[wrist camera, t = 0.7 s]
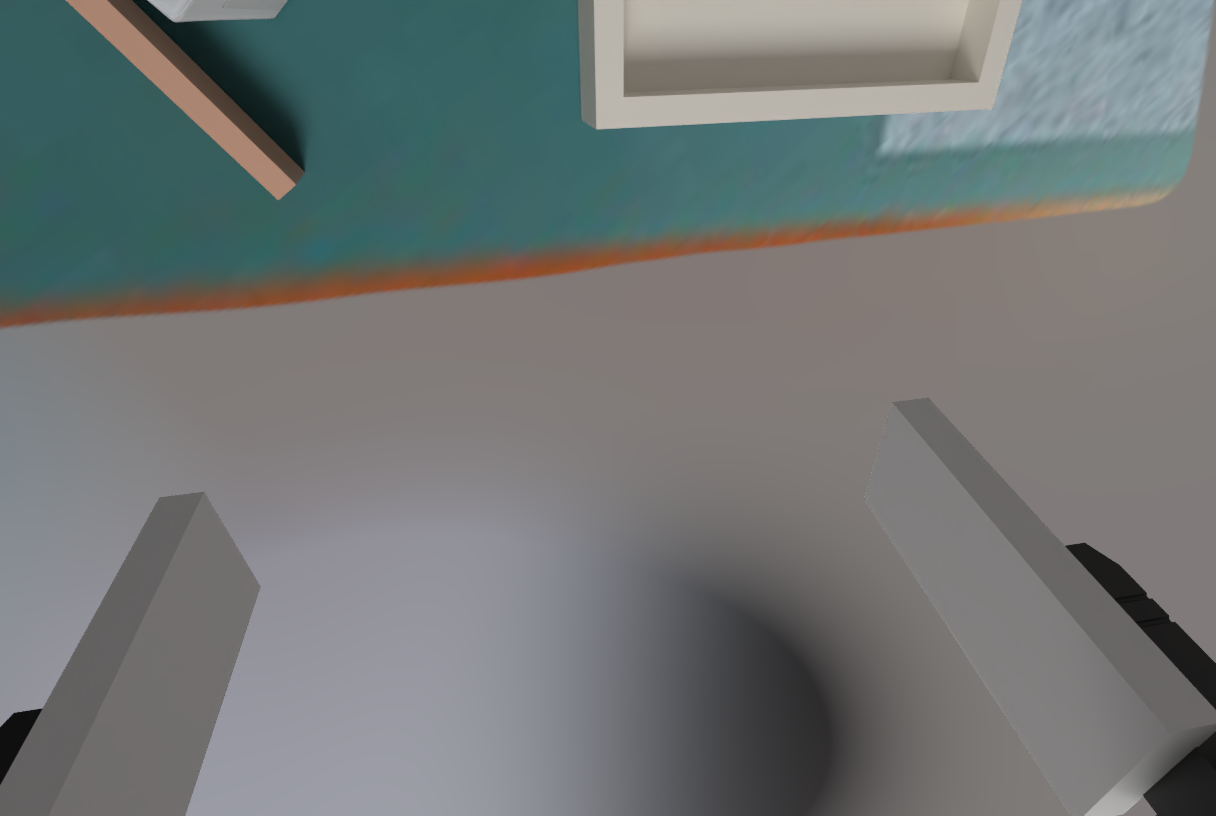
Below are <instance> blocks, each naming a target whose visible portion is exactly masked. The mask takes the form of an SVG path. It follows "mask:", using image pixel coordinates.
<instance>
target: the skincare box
mask: <svg viewBox="0 0 1216 816" xmlns="http://www.w3.org/2000/svg"><path fill="white" fill-rule="evenodd" d="M148 1H149V2H150V3H151V4H152V5H154V6H155V7H156V8H157V9H158V10H159V11H161V12H162V13H163V14H164V15H165V16H167V17H168V18H169V19H170V20H172V21H173V22H187V21H205V20H237V19H272V18H275V17H276V15H277V14H278V13H279V11H280V10H281V9H282V7H283V6H284V5H285V3H286V2H287V1H288V0H148Z"/></svg>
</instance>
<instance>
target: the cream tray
mask: <svg viewBox="0 0 1216 816" xmlns="http://www.w3.org/2000/svg"><path fill="white" fill-rule="evenodd" d="M1021 4H1022V0H578V22H579V55H580V88H581V120H582V121H584V122H586V123H587V124H589V125H590V126H592V127H593V128H595V129H613V128H632V127H652V126H671V125H690V124H710V123H729V122H749V121H768V120H787V119H807V118H826V117H845V116H865V115H884V114H903V113H923V112H942V111H962V110H981V109H993V106H994V102H995V99H996V95H997V91H998V88H999V84H1000V80H1001V77H1002V73H1003V69H1004V66H1005V62H1006V58H1007V55H1008V51H1009V47H1010V44H1011V40H1012V36H1013V33H1014V29H1015V26H1016V22H1017V18H1018V15H1019V11H1020V7H1021Z"/></svg>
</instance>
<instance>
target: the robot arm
mask: <svg viewBox="0 0 1216 816" xmlns="http://www.w3.org/2000/svg"><path fill="white" fill-rule="evenodd" d="M864 500H865V501H866V503H867V504H868V506H869V508H870V509H871V511H872V512H873V514H874V515H875V517H876V518H877V520H878V521H879V523H880V524H881V526H882V528H883V529H884V530H885V532H886V534H887V535H888V537H889V538H890V540H891V541H892V543H893V544H894V546H895V548H896V549H897V551H898V552H899V554H900V555H901V557H902V558H903V560H904V561H905V563H906V564H907V566H908V567H909V569H910V571H911V572H912V573H913V575H914V577H915V578H916V580H917V581H918V583H919V584H920V586H921V587H922V589H923V590H924V592H925V593H926V595H927V597H928V598H929V600H930V601H931V603H932V604H933V606H934V607H935V609H936V610H937V612H938V613H939V615H940V617H941V618H942V619H943V621H944V623H945V624H946V626H947V627H948V629H949V630H950V632H951V633H952V635H953V636H954V638H955V639H956V641H957V643H958V644H959V645H960V647H961V649H962V650H963V652H964V653H965V655H966V656H967V658H968V660H969V661H970V663H971V664H972V666H973V667H974V669H975V670H976V672H977V673H978V675H979V676H980V678H981V679H982V681H983V682H984V684H985V685H986V687H987V689H988V690H989V692H990V693H991V695H992V696H993V698H994V699H995V701H996V702H997V704H998V705H999V707H1000V709H1001V710H1002V711H1003V713H1004V715H1005V716H1006V718H1007V719H1008V721H1009V722H1010V724H1011V725H1012V727H1013V729H1014V730H1015V732H1016V733H1017V735H1018V736H1019V738H1020V739H1021V741H1022V742H1023V744H1024V745H1025V747H1026V748H1027V750H1028V752H1029V753H1030V755H1031V756H1032V758H1033V759H1034V761H1035V762H1036V764H1037V765H1038V767H1039V768H1040V770H1041V772H1042V773H1043V774H1044V776H1045V777H1046V779H1047V781H1048V782H1049V784H1050V785H1051V787H1052V788H1053V790H1054V791H1055V793H1056V794H1057V796H1058V797H1059V799H1060V801H1061V802H1062V804H1063V805H1064V807H1065V808H1066V810H1067V811H1068V813H1069V814H1070V816H1116V815H1122V814H1124V813H1125V812H1126V811H1127V810H1129V809H1130V808H1131V807H1132V806H1133V805H1134V804H1135V803H1136V802H1137V801H1139V800H1140V799H1141V798H1142V797H1143V796H1144V797H1145V799H1146V800H1147V801H1148V803H1149V804H1150V805H1151V807H1152V808H1153V809H1154V811H1155V812H1156V813H1157V815H1156V816H1216V663H1215V662H1214V661H1213V660H1212V659H1211V658H1210V657H1209V656H1208V655H1207V654H1206V653H1205V652H1204V651H1203V650H1202V649H1201V648H1200V647H1199V646H1198V645H1197V644H1196V643H1195V642H1194V641H1193V640H1192V639H1191V638H1190V637H1189V636H1188V635H1187V634H1186V633H1185V632H1184V631H1183V630H1182V629H1181V627H1180V626H1179V625H1178V624H1177V623H1175V622H1171V621H1170V620H1169V615H1168V614H1167V613H1166V612H1165V611H1164V610H1163V609H1162V608H1161V607H1160V606H1159V605H1158V604H1157V603H1156V602H1155V601H1154V600H1153V599H1149V598H1148V597H1147V595H1146V594H1147V593H1146V592H1145V591H1144V590H1143V589H1142V588H1141V587H1140V586H1139V584H1137V583H1136V581H1135V580H1134V579H1133V578H1131V576H1130V575H1129V574H1128V573H1127V572H1126V571H1125V570H1124V569H1123V568H1122V567H1121V566H1120V565H1119V564H1117V563H1115V562H1114V561H1112V560H1111V559H1109V558H1107V557H1106V556H1105V555H1103V554H1101V553H1100V552H1098V551H1097V550H1095V549H1093V548H1092V547H1090V546H1089V545H1087V544H1086V543H1080V544H1074V545H1067V546H1064V545H1063V543H1062V542H1061V541H1059V539H1058V538H1057V537H1056V536H1055V535H1054V534H1053V533H1052V532H1051V530H1049V528H1048V527H1046V525H1045V524H1044V523H1043V522H1042V521H1041V520H1040V519H1039V517H1038V516H1037V515H1036V514H1035V513H1034V512H1033V511H1032V510H1031V509H1030V508H1029V507H1028V506H1027V504H1026V503H1025V502H1024V501H1023V500H1022V499H1021V498H1020V497H1019V496H1018V495H1017V494H1016V492H1014V490H1013V489H1012V488H1011V487H1010V486H1009V485H1008V484H1007V483H1006V482H1005V481H1004V479H1003V478H1002V477H1001V476H1000V475H999V474H998V473H997V472H996V471H995V470H994V469H993V467H992V466H991V465H990V464H989V463H988V462H987V461H986V460H985V459H984V458H983V457H982V456H981V455H980V453H979V452H978V451H977V450H976V449H975V448H974V447H973V446H972V445H971V444H970V443H969V441H968V440H967V439H966V438H965V437H964V436H963V435H962V434H961V433H960V432H959V431H958V430H957V429H956V427H955V426H954V425H953V424H952V423H951V422H950V421H949V420H948V419H947V418H946V416H945V415H944V414H943V413H942V412H941V411H940V410H939V409H938V408H937V407H936V406H935V405H934V403H933V402H932V401H931V400H930V399H929V398H921V399H914V400H907V401H899V402H892V405H891V408H890V412H889V415H888V419H887V422H886V425H885V429H884V432H883V436H882V439H881V443H880V446H879V450H878V453H877V457H876V460H875V463H874V467H873V470H872V474H871V477H870V480H869V484H868V488H867V491H866V494H865V498H864ZM259 590H260V585H259V583H258V582H257V580H256V578H255V577H254V575H253V573H252V572H251V570H250V568H249V567H248V565H247V563H246V561H245V560H244V558H243V556H242V555H241V553H240V551H239V550H238V548H237V546H236V545H235V543H234V541H233V539H232V538H231V536H230V534H229V533H228V531H227V529H226V528H225V526H224V524H223V523H222V521H221V519H220V518H219V516H218V514H217V513H216V511H215V509H214V507H213V506H212V504H211V502H210V501H209V499H208V497H207V496H206V494H205V492H199V493H191V494H183V495H176V496H168V497H160V498H159V499H158V501H157V503H156V505H155V507H154V508H153V510H152V512H151V514H150V516H149V517H148V519H147V521H146V523H145V525H144V526H143V528H142V530H141V532H140V534H139V535H138V537H137V539H136V541H135V543H134V544H133V546H132V548H131V550H130V552H129V554H128V555H127V557H126V559H125V561H124V563H123V565H122V566H121V568H120V570H119V572H118V573H117V575H116V577H115V579H114V581H113V582H112V584H111V586H110V588H109V590H108V592H107V594H106V595H105V597H104V599H103V600H102V602H101V604H100V606H99V608H98V610H97V611H96V613H95V615H94V617H93V619H92V620H91V623H90V624H89V626H88V628H87V630H86V631H85V633H84V635H83V637H82V639H81V640H80V643H79V644H78V646H77V648H76V649H75V652H74V653H73V655H72V657H71V659H70V660H69V662H68V664H67V666H66V667H65V669H64V671H63V673H62V675H61V677H60V678H59V680H58V682H57V684H56V686H55V687H54V689H53V691H52V693H51V695H50V696H49V698H48V700H47V702H46V704H45V705H44V707H43V708H42V709H36V710H30V711H23V712H17V713H14V714H13V715H12V716H11V717H10V718H9V719H8V720H7V721H6V722H5V723H4V724H3V725H2V726H1V727H0V816H185V814H186V811H187V808H188V805H189V802H190V799H191V796H192V793H193V790H194V787H195V784H196V781H197V778H198V775H199V772H200V769H201V766H202V763H203V760H204V757H205V754H206V750H207V748H208V744H209V742H210V739H211V736H212V732H213V729H214V726H215V723H216V720H217V717H218V714H219V711H220V708H221V705H222V702H223V699H224V696H225V693H226V690H227V687H228V683H229V680H230V678H231V675H232V672H233V669H234V665H235V663H236V660H237V656H238V653H239V650H240V647H241V644H242V641H243V638H244V635H245V632H246V629H247V626H248V623H249V620H250V617H251V614H252V611H253V608H254V605H255V602H256V599H257V595H258V592H259Z"/></svg>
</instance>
